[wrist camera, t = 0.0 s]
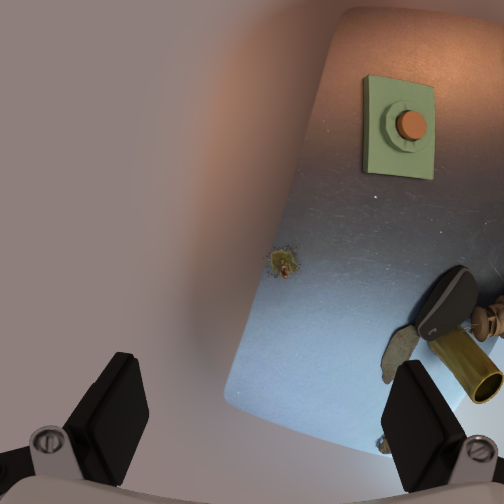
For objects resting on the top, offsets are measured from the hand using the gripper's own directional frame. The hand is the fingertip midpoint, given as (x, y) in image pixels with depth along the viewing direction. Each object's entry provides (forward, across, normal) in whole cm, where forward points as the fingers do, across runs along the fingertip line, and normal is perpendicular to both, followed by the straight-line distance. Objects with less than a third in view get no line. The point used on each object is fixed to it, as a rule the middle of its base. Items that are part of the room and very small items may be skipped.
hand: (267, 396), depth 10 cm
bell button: (+27, -16, -13) cm, 34 cm away
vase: (+30, -29, +16) cm, 45 cm away
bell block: (+30, -16, -13) cm, 37 cm away
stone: (+30, -23, +20) cm, 43 cm away
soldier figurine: (+31, -2, +5) cm, 31 cm away
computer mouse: (+30, -26, +10) cm, 41 cm away
